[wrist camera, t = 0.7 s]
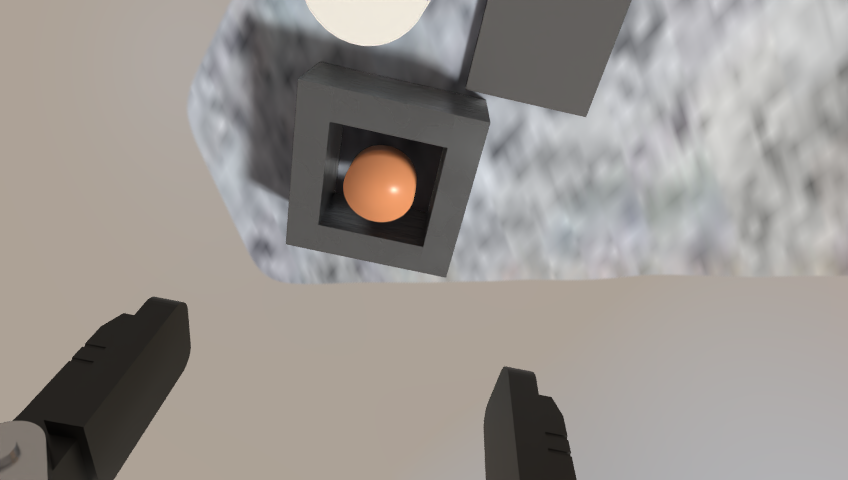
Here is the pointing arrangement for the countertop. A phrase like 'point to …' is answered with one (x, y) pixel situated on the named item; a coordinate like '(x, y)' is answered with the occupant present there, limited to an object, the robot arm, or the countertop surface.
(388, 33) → the tube
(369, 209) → the orange dome
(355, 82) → the frame
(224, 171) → the countertop surface
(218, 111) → the countertop surface
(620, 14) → the pad
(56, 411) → the robot arm
